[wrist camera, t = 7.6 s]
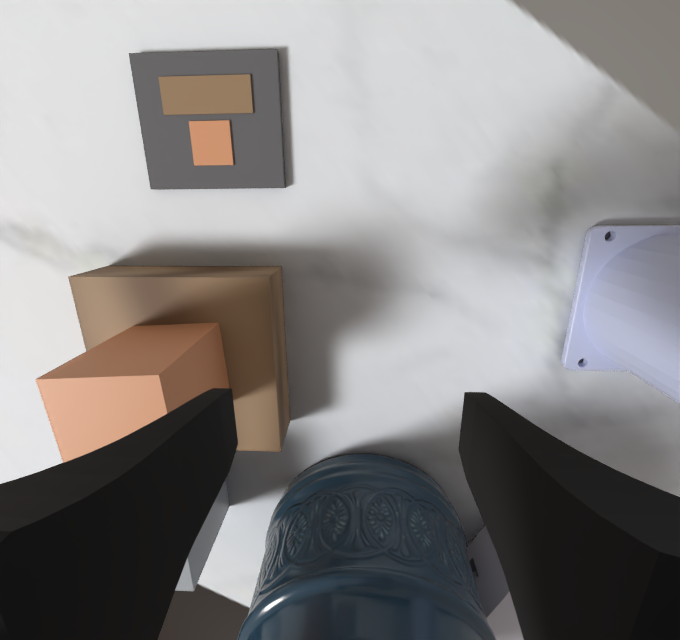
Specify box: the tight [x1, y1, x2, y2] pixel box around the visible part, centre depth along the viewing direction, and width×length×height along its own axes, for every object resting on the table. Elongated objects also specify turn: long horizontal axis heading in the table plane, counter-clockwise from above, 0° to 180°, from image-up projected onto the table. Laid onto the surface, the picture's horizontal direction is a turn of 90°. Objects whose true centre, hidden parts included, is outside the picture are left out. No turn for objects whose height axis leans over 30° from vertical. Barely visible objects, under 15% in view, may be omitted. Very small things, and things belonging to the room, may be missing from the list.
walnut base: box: [68, 266, 290, 452], centre depth 21 cm, size 10×10×4 cm
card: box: [129, 49, 286, 189], centre depth 18 cm, size 7×6×1 cm
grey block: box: [175, 479, 229, 591], centre depth 23 cm, size 4×4×6 cm
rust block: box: [36, 323, 229, 463], centre depth 16 cm, size 4×4×6 cm
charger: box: [467, 526, 524, 640], centre depth 25 cm, size 5×9×15 cm
